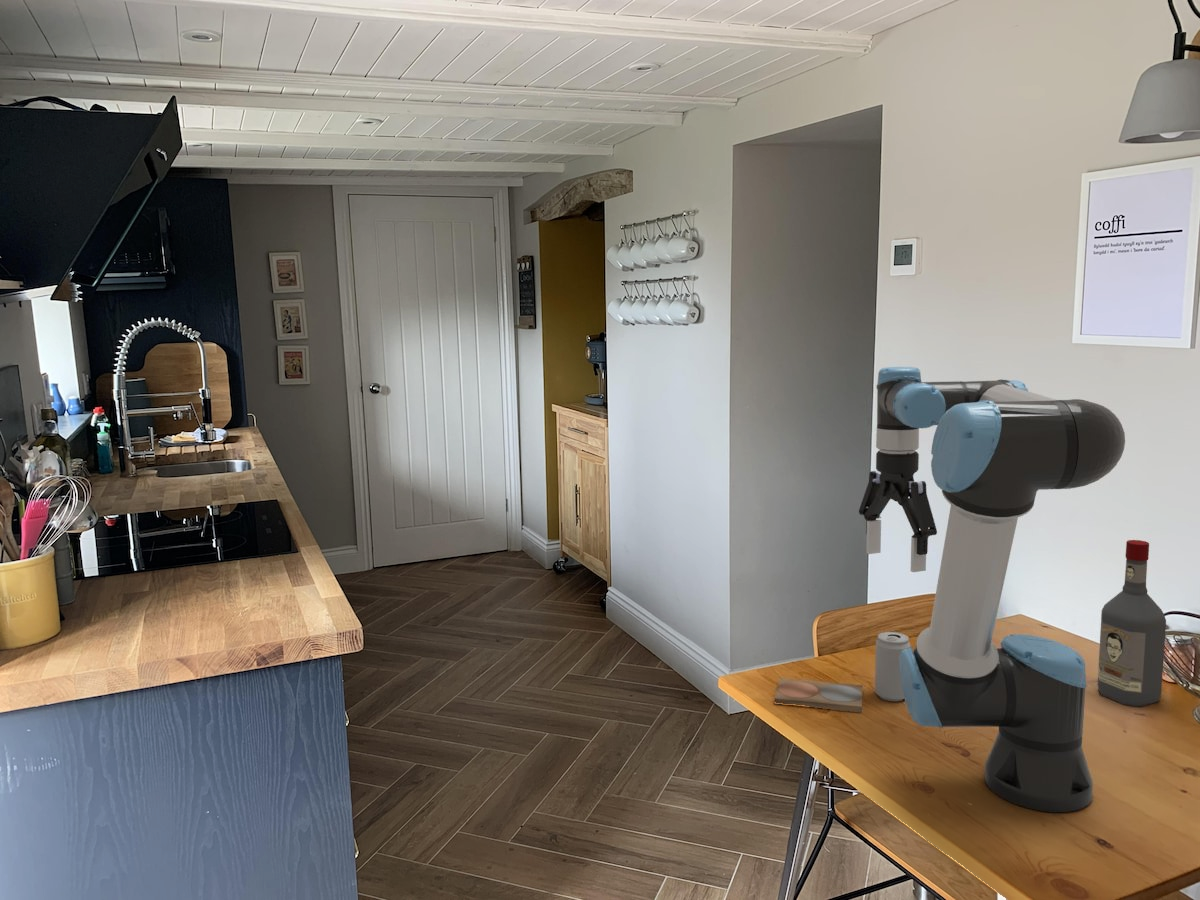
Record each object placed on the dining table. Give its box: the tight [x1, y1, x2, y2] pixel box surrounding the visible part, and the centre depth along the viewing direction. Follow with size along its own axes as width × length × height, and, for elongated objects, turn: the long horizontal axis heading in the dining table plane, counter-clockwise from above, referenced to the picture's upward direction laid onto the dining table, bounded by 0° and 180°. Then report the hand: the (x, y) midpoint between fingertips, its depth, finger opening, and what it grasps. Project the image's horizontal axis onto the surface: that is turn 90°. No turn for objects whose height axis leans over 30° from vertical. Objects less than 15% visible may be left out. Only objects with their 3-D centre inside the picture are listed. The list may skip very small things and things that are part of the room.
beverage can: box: [874, 631, 912, 702], centre depth 175 cm, size 6×6×12 cm
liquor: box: [1097, 539, 1167, 707], centre depth 171 cm, size 9×9×30 cm
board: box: [774, 677, 864, 714], centre depth 176 cm, size 10×16×1 cm, turn 73°
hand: (894, 561), depth 172 cm, fingers open, 13 cm apart
